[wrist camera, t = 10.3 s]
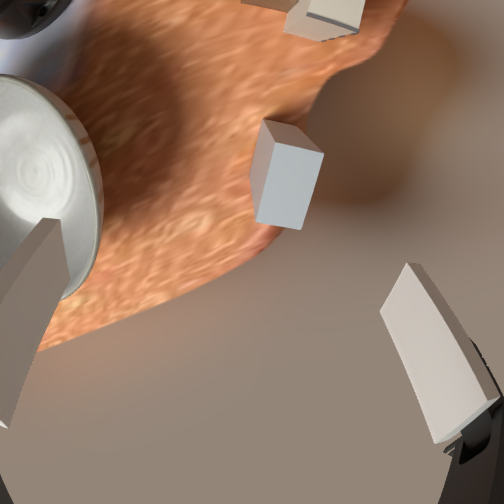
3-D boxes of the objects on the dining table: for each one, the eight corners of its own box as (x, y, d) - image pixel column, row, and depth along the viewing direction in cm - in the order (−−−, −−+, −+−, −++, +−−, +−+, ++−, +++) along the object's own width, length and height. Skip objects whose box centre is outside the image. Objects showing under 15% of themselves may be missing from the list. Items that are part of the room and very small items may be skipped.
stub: (249, 175, 36) (255, 222, 27) (262, 118, 33) (275, 142, 23) (282, 182, 37) (300, 229, 27) (297, 126, 33) (324, 153, 24)
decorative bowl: (176, 127, 33) (151, 156, 23) (91, 280, 44) (63, 338, 34) (14, 37, 23) (-49, 42, 13) (-33, 199, 34) (-78, 237, 24)
